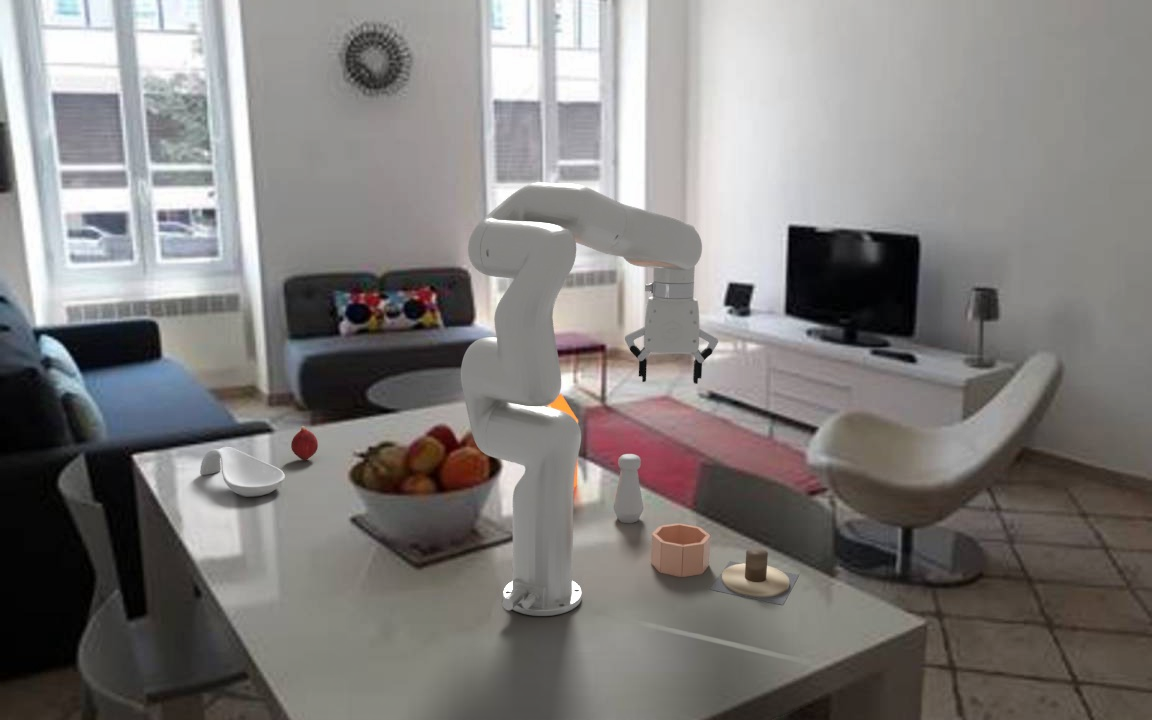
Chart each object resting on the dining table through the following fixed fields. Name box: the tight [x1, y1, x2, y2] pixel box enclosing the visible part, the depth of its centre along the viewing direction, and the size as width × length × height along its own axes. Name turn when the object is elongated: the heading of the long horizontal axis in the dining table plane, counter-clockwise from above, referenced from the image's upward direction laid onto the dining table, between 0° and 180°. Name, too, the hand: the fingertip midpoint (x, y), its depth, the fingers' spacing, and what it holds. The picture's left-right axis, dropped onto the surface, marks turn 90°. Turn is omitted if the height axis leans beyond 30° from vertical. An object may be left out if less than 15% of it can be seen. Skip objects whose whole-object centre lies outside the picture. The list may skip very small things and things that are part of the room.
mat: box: [709, 560, 800, 606], centre depth 156 cm, size 12×12×1 cm
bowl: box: [650, 522, 711, 578], centre depth 162 cm, size 9×9×6 cm
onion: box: [290, 425, 319, 461], centre depth 214 cm, size 6×6×8 cm
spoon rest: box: [199, 446, 286, 498], centre depth 198 cm, size 24×12×7 cm, turn 52°
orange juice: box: [546, 393, 579, 489], centre depth 197 cm, size 8×9×20 cm
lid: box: [721, 547, 789, 597], centre depth 156 cm, size 11×11×5 cm
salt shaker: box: [613, 453, 645, 524], centre depth 182 cm, size 6×6×13 cm
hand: (669, 381), depth 177 cm, fingers open, 9 cm apart
